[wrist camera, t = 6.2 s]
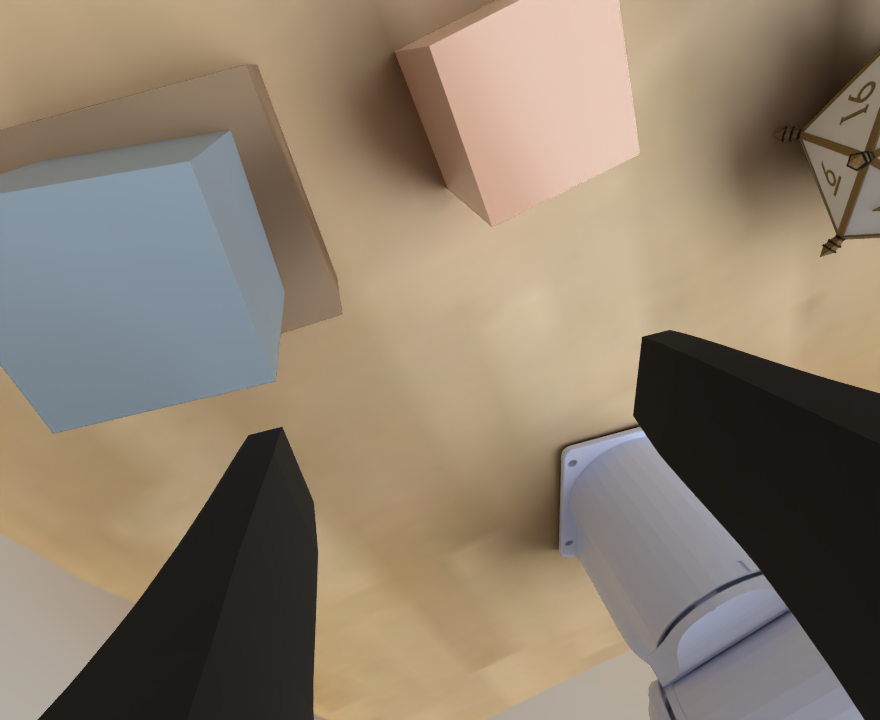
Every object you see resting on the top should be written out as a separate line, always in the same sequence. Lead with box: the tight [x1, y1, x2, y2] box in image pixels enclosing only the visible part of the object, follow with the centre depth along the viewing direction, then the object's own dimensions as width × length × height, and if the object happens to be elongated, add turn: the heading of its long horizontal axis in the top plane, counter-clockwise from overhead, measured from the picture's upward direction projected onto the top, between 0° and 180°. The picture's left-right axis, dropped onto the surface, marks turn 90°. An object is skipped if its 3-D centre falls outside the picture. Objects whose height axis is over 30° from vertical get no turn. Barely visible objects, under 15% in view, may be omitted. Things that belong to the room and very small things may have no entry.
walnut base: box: [0, 65, 342, 333], centre depth 14 cm, size 7×7×4 cm
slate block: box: [0, 130, 285, 434], centre depth 11 cm, size 4×4×5 cm
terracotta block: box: [395, 0, 640, 227], centre depth 14 cm, size 4×4×5 cm
